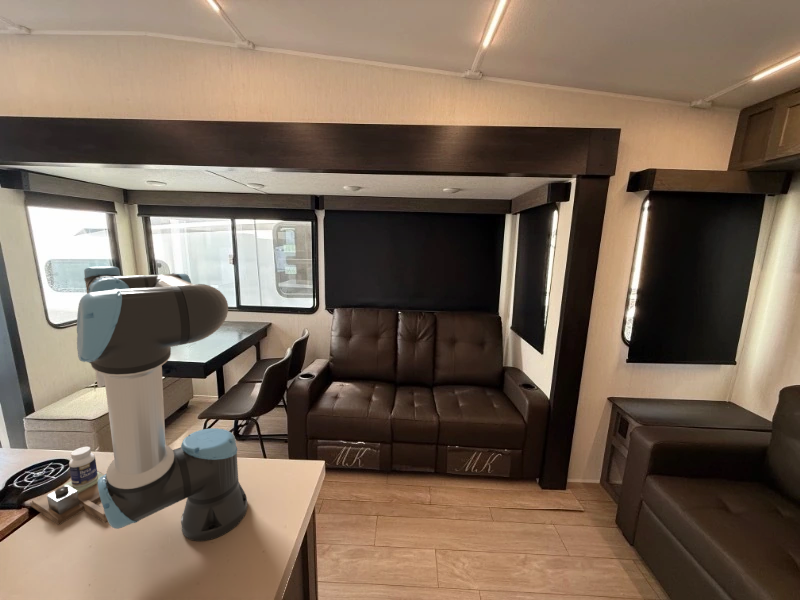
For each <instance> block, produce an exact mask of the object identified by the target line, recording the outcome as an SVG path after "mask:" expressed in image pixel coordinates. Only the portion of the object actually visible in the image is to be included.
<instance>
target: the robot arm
mask: <svg viewBox="0 0 800 600" xmlns="http://www.w3.org/2000/svg"><path fill="white" fill-rule="evenodd" d="M83 280H84V282H85V289H86V294H83V296H82V297H81V298H80V300H79V302H78V308H77V316H76V317H77V318H76V334H77V335H76V349H77V357H78V360H79V361H81V362H83V363H85V362H86V363H89V364H90V366H91V368H92V369H93V370H94V372H95V376H96V383H97V384H96V385H97V388H99V389H100V388H102V387H105V393H106V402H107V409H108V410H107V411H108V416H109V417H108V419H109V427H110V433H111V434H110V435H111V444H112V451H113V460H112V461H111V462H110V463H109V465H108V466H107V470H106V473H104V474H105V475H104V476H102V477H100V478H99V480H98V490H99V495H100V499H101V500H100V502H101V504H102V508H103V509H104V512H105V515H106V518H107V520H108V521H107V522H108V524H109V526H110V527H111V528H112V529H113V528H114V529H116V530H117V529H118V530H119V529H121V528H124V527H127V526H129V525H133V524H136V523H138V522H140V521H141V520H143V519H145V518H148V517H150V516H152V515H153V514H156V513H158V512H160V511H162V510H164V509H166V508H169V507H170V506H173V505H174V504H177V503H179V502H180V501H183V500H186V502H185V505H184V509H183V512H182V515H181V521H180V524H181V525H180V526H181V531H182V535H183V536H184V537H185V538H186V539H188V540H191V541H194V542H195V541H196V542H197V541H198V542H203V541H210V540H213V539H216V538H218V537H219V538H220V537H221V536H223V535H225V534H226V533H228V532H230V531H232V530H233V529H234V528H235V527H237V526H238V525H239V524H240V523H241V521H242V520H243V519H244V518H245V516H246V514H247V511H248V497H247V495H246V492H245V491H244V489H243V487H242V485H241V483H240V481H239V467H238V466H239V465H238V446H237V442H236V437H235V435H234V433H232V432H231V431H230V430H227V429H224V428H216V427H215V428H213V427H211V428H204V429H200V430H196V431H194V432H192V433H190V434H188V435H187V436H186V437H184V438H183V439H182V443H181V445H180V447H178V448H175V449H173V448H172V447H170V446H169V445H167V444H166V427H165V406H164V385H163V383H164V382H163V367H162V366H163V365H164V364H166V363H167V362H169V360H170V358H171V355H172V353H171V352H172V351H171V347H172V348H173V347H178V346H182V345H187V344H193V343H196V342H199V341H202V340H205V339H206V338H208V337H210V336H211V335H213V334H214V333H215V332H216V331H218V330H219V329H220V328H221V327H222V325H223V324H224V323H225V320H226V319H227V316H228V313H229V304H228V303H229V302H228V301H227V298H226V297H225V295H224V294H223V292H221V291H220V290H219V289H217V288H216V287H215V286H214V287H213V286H211V285H208V284H204V283H196V284H195V283H192V281H191V278H190V276H189V275H188V274H186V273H177V272H176V273H175V272H174V273H166V274H164V273H163V274H161V273H160V274H144V275H143V274H142V275H141V274H140V275H137V274H136V275H121V271H120V268H119V267H117V266H111V265H110V266H109V265H108V266H107V265H105V266H101V265H100V266H89V267H86V268H85V269H84V279H83Z"/></svg>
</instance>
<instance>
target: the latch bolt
mask: <svg viewBox="0 0 800 600" xmlns="http://www.w3.org/2000/svg"><path fill="white" fill-rule="evenodd" d="M56 489H57V488H56ZM47 499H48V505H49V508H50V509H51V510H53V511H54V512H56V513H58V514H59V515H61V514H62V513H64V512H66V511H68V510H70V509H71V508H73V507H75V506H77V505H78V504H79V498H78V492H77V490H75V489H73V488H72V487H70V486H68V485H66V486H64V487H61V488H59V489H57V490H56V491H54V492H52V493H50V494H48V495H47Z"/></svg>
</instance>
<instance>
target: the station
mask: <svg viewBox="0 0 800 600" xmlns="http://www.w3.org/2000/svg"><path fill="white" fill-rule="evenodd" d="M97 473H98V477H97V479H96V480H94V481H93V482H92V483H90V484H88V485H85V486H82V487H74V486H73V485H72V481H71V480H70V481H68V482H67V483H64V484H63V485H60V486H57V488H55V489H54V490H51V491H49V492H48V493H45V494H44V495H41V496H40V497H37V498H34V499H32V500H31V501H30V502H29V504H30V505H29V506H30V507H31V508H33V509H34V510H36V511H37V512H39V513H40V514H42V515H44V516H45V517H46V518H48V519H50V520H51V521H53V522H54V523H55V524H57V525H61V524H63V523H64V522H66V521H68V520H69V519H71V518H73V517H74V516H76V515H78V514H79V513H81V512H83V511H85V512H86V513H88V514H90V515H91V516H93V517H95V518H97V519H98V520H100V521H101V522H103V523H106V522H108V520H107V518H106V515H105V512H104V508H103V507H101V506H99V505H98V504H97V503H99V501H100V502H101V499H100V495H99V490H98V480H99V478H100V477H102V476H104V475H105V474H106V473H102V472H101V471H99V470H97ZM66 485H68V486H70V487H72V488H73V489H75V490H77V492H78V498H79V504H78V505H77V506H75V507H73V508H71V509H70V510H68V511H66V512H64V513H62V514H61V515H59V514H58V513H56V512H54V511H53V510H51V509H50V508H49V505H48V499H47V495H48V494H50V493H52V492H54V491H56V490H57V489H59V488H61V487H64V486H66Z"/></svg>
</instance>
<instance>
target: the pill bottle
mask: <svg viewBox="0 0 800 600" xmlns="http://www.w3.org/2000/svg"><path fill="white" fill-rule="evenodd" d="M70 456H71V457H70V458H71V459H70V460H69V463H68V466H69V472H70V473H69V474H70V479H71V480H70V481H72V485H73V486H74V487H82V486H85V485H88V484H90V483H92V482H93V481H94V480H96V479H97V477H98V473H97V471H98V469H97V461H96V460H97V459H96V455H95V454H94V453H93V452H92V449H91V446H82V447H79V448H76V449H74V450H73V451H71V453H70Z"/></svg>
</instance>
